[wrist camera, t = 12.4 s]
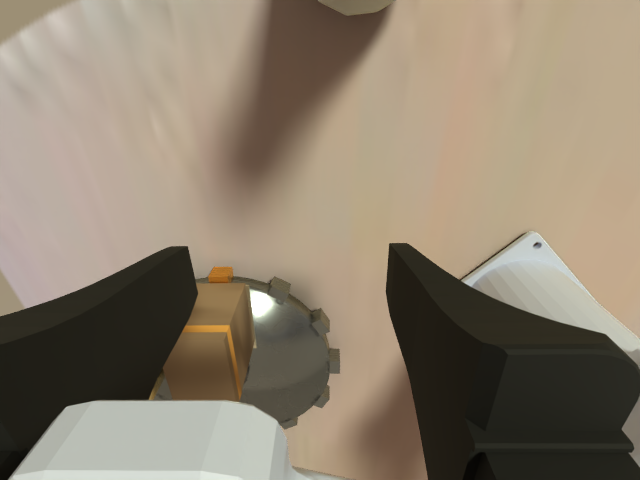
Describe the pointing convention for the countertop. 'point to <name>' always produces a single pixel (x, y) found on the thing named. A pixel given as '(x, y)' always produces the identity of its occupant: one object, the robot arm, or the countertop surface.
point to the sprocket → (279, 351)
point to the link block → (213, 346)
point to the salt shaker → (356, 6)
